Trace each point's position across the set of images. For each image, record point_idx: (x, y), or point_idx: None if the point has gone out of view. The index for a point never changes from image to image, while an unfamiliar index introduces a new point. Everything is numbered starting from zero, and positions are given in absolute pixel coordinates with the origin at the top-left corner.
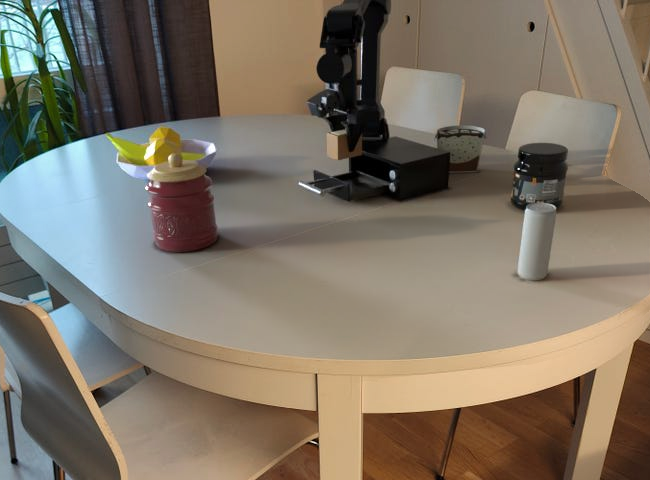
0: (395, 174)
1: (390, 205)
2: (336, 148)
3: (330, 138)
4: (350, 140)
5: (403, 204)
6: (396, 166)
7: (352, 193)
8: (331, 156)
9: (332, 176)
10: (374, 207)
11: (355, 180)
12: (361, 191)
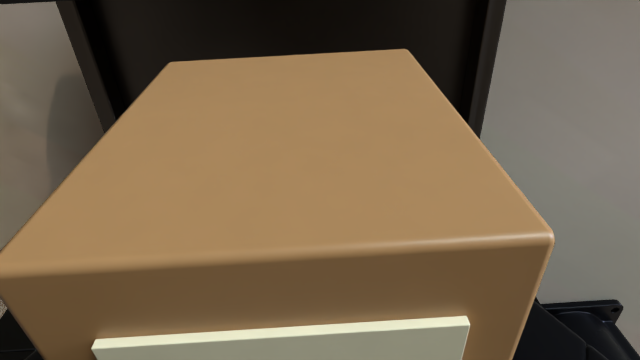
0: None
1: (37, 162)
2: (149, 115)
3: (345, 181)
4: (40, 355)
5: (33, 208)
6: (22, 347)
7: (75, 23)
8: (308, 57)
9: (479, 108)
10: (30, 88)
11: None
12: (94, 93)
